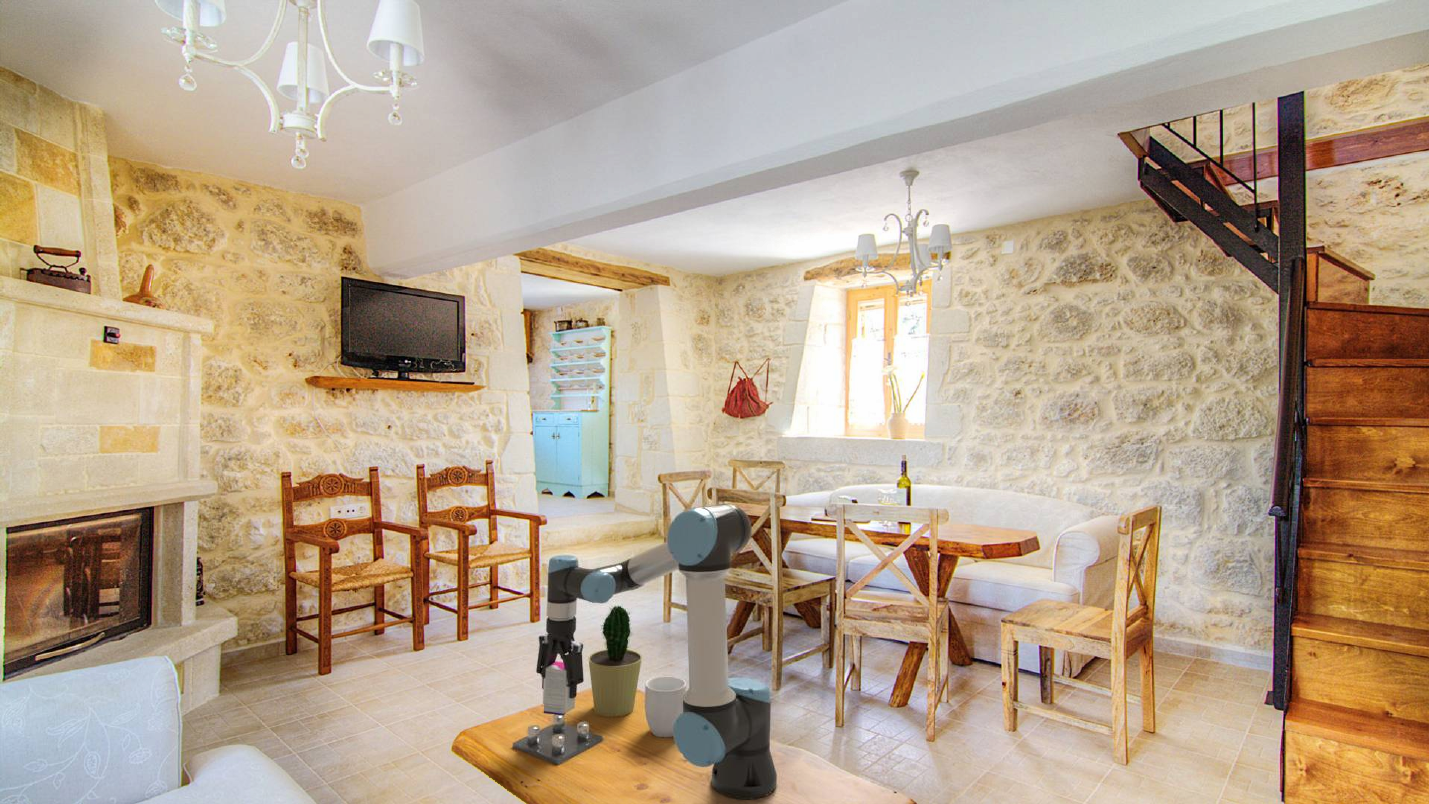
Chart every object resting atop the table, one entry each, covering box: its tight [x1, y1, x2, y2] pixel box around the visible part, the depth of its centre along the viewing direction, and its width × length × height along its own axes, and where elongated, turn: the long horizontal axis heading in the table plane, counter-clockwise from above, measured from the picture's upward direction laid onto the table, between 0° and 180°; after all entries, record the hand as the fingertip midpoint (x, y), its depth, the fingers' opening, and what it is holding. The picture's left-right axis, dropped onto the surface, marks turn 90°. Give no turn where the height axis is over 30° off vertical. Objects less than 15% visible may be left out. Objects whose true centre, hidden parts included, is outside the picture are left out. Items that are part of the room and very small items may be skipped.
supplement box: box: [542, 660, 573, 716], centre depth 181 cm, size 6×6×12 cm
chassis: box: [512, 714, 604, 766], centre depth 181 cm, size 16×16×4 cm
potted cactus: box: [587, 604, 643, 718], centre depth 203 cm, size 15×15×30 cm
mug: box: [644, 675, 687, 738], centre depth 189 cm, size 15×11×13 cm
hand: (558, 706), depth 181 cm, fingers closed on supplement box, 7 cm apart
